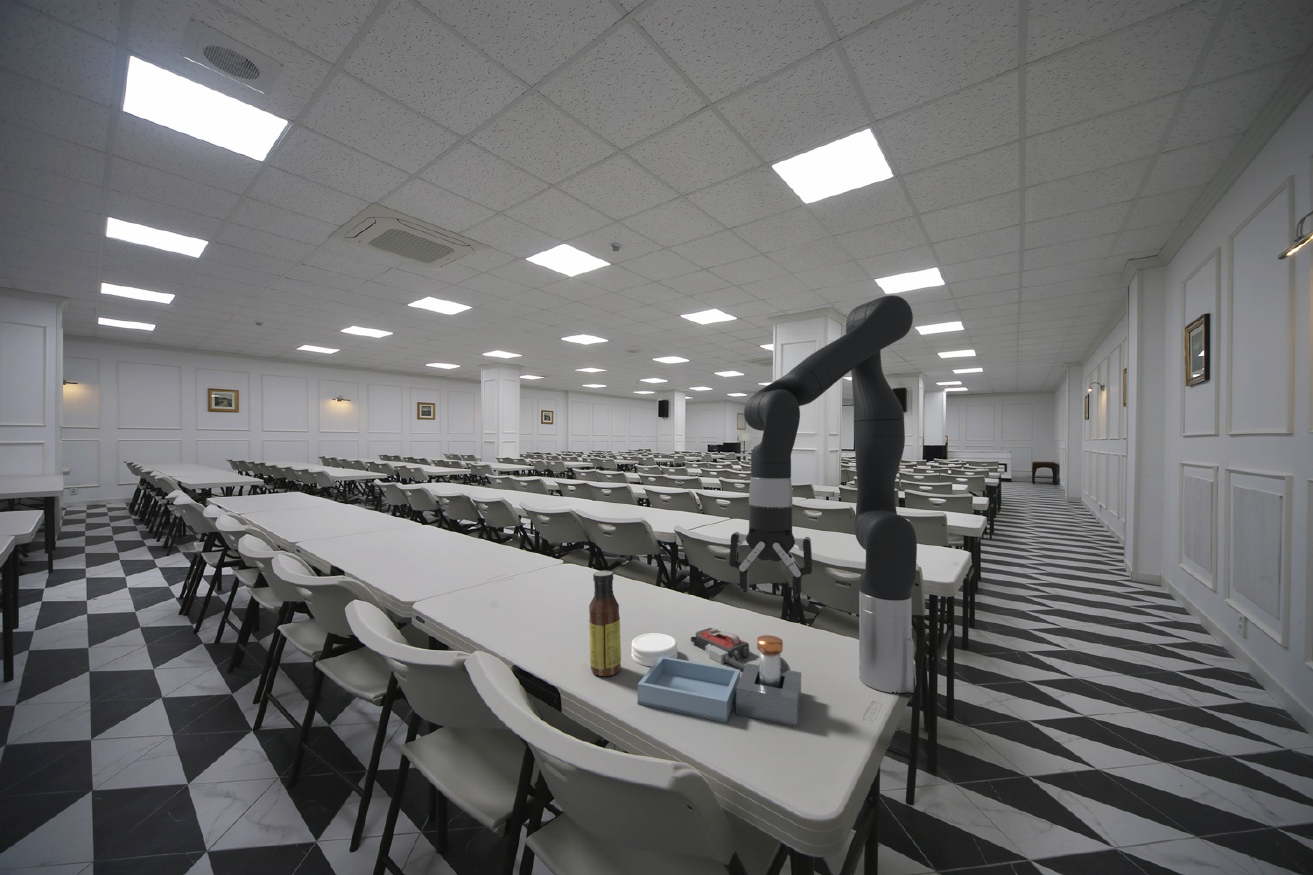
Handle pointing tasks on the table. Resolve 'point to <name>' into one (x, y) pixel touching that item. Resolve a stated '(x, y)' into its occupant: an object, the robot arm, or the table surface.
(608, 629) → the sauce bottle
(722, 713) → the tray
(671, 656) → the white round disc stack
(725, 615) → the table surface
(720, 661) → the walkie-talkie
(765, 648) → the lock pin
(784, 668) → the block
